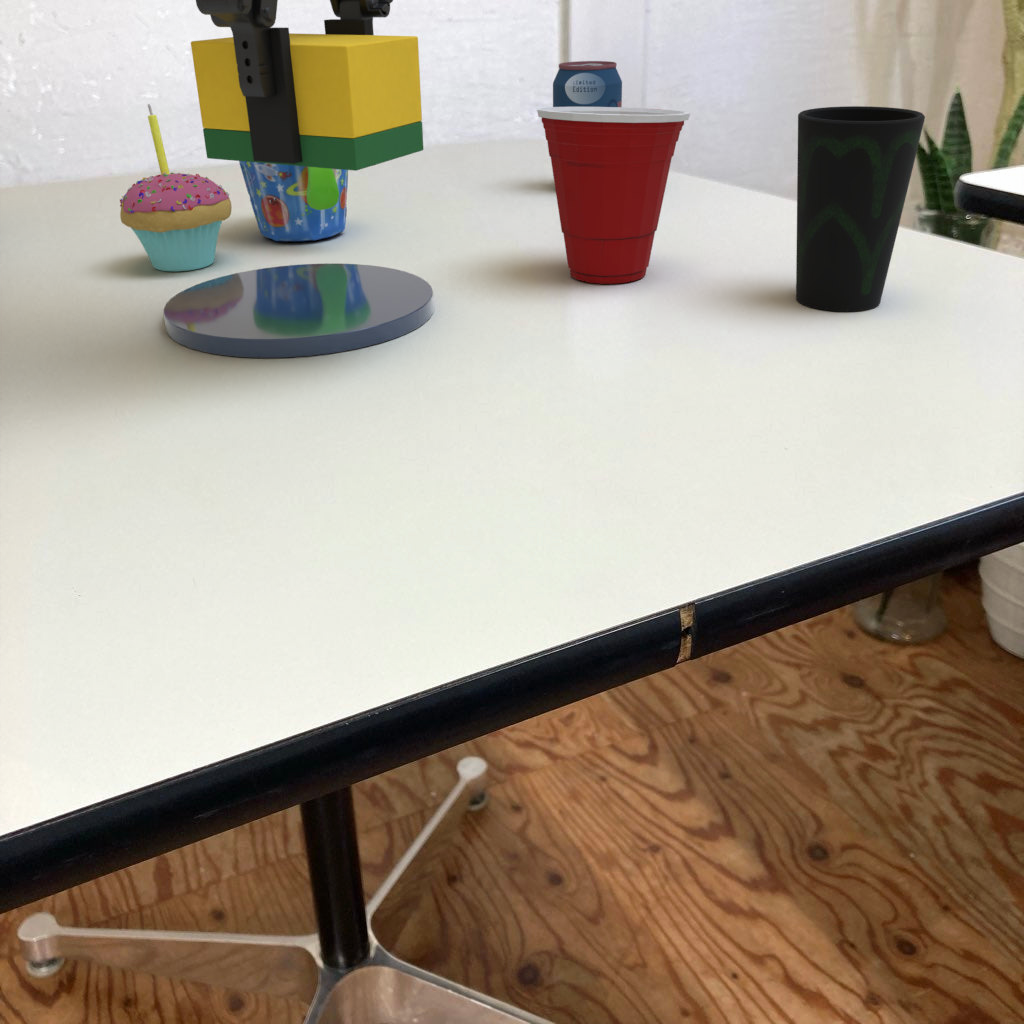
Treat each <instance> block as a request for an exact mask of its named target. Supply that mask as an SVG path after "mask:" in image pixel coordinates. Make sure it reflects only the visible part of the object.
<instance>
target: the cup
mask: <svg viewBox="0 0 1024 1024" xmlns="http://www.w3.org/2000/svg"><path fill="white" fill-rule="evenodd" d="M925 120H926V116H925V114H924V113H923V112H921V111H918V110H915V109H914V110H913V109H907V108H901V107H889V106H867V105H866V106H863V105H859V106H858V105H857V106H856V105H855V106H853V105H852V106H851V105H849V106H845V105H844V106H826V107H815V108H808V109H805V110H802V111H800V112H799V113H798V114H797V170H796V171H797V175H796V177H797V178H796V179H797V180H796V181H797V182H796V184H797V185H796V259H795V261H796V265H795V266H796V267H795V268H796V269H795V270H796V271H795V274H796V275H795V278H796V279H795V283H796V284H795V300H796V301H797V302H798V303H799V304H801V305H803V306H805V307H808V308H811V309H815V310H822V311H826V312H827V311H828V312H841V313H849V312H852V313H853V312H863V311H869V310H872V309H875V308H876V307H879V306H880V304H881V301H882V298H883V293H884V289H885V284H886V281H887V278H888V277H887V276H888V272H889V268H890V264H891V260H892V256H893V252H894V248H895V243H896V239H897V236H898V235H897V234H898V230H899V227H900V222H901V219H902V214H903V211H904V207H905V202H906V197H907V194H908V189H909V186H910V182H911V178H912V174H913V170H914V164H915V160H916V157H917V153H918V148H919V145H920V140H921V136H922V132H923V128H924V124H925Z"/></svg>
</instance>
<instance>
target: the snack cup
mask: <svg viewBox="0 0 1024 1024" xmlns="http://www.w3.org/2000/svg"><path fill="white" fill-rule="evenodd" d="M238 162H239V167H240V170H241V173H242V177H243V181H244V184H245V187H246V190H247V193H248V196H249V201H250V204H251V208H252V212H253V214H254V217H255V220H256V225H257V227H258V229H259V232H260V234H261V235H262V237H264V238H267V239H270V240H273V241H275V242H307V241H308V242H310V241H317V240H322V239H327V238H331V237H334V236H336V235H338V234H339V233H343V232H345V229H346V221H347V215H348V214H347V212H348V211H347V210H348V209H347V197H348V184H349V170H342V169H330V168H318V167H306V166H294V165H282V164H270V163H258V162H246V161H238Z"/></svg>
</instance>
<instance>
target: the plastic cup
mask: <svg viewBox="0 0 1024 1024" xmlns="http://www.w3.org/2000/svg"><path fill="white" fill-rule="evenodd" d="M536 112H537V116H538V117H539V118H541V123H542V127H543V129H544V134H545V140H546V141H547V149H548V156H549V157H550V161H551V169H552V176H553V182H554V189H555V195H556V196H555V197H556V203H557V209H558V215H559V221H560V222H559V223H560V229H561V233H563V239H564V240H563V241H564V248H565V254H566V261H567V268H568V269H569V272H570V277H571V276H572V278H573V277H574V278H573V279H575V280H577V281H580V280H581V281H580V282H584V281H585V282H584V283H588V284H600V285H611V284H613V285H614V284H616V285H617V284H625V283H631V282H635V281H638V280H641V279H643V278H644V277H645V276H646V275H647V269H648V268H649V266H650V261H651V255H652V249H653V244H654V241H655V240H654V239H655V234H656V231H657V230H658V225H659V221H660V216H661V211H662V208H663V207H662V206H663V201H664V196H665V192H666V188H667V182H668V177H669V173H670V167H671V163H672V158H673V157H674V155H675V150H676V146H677V142H678V141H679V137H680V135H681V134H680V133H681V131H683V126H684V125H685V121H688V120H689V118H690V115H691V113H690V112H688V111H683V110H682V111H681V110H673V109H661V108H659V109H658V108H645V107H623V106H622V107H553V106H544V107H536ZM630 281H631V282H630Z"/></svg>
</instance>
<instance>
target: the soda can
mask: <svg viewBox="0 0 1024 1024" xmlns="http://www.w3.org/2000/svg"><path fill="white" fill-rule="evenodd" d="M622 105H623V80H622V78H621V76H620V74H619V70H618V69H617V62H616V61H607V60H606V61H605V60H581V61H580V60H579V61H568V62H567V61H566V62H560V63H559V64H558V71H557V73H556V74H555V77H554V80H553V82H552V107H623V106H622Z"/></svg>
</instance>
